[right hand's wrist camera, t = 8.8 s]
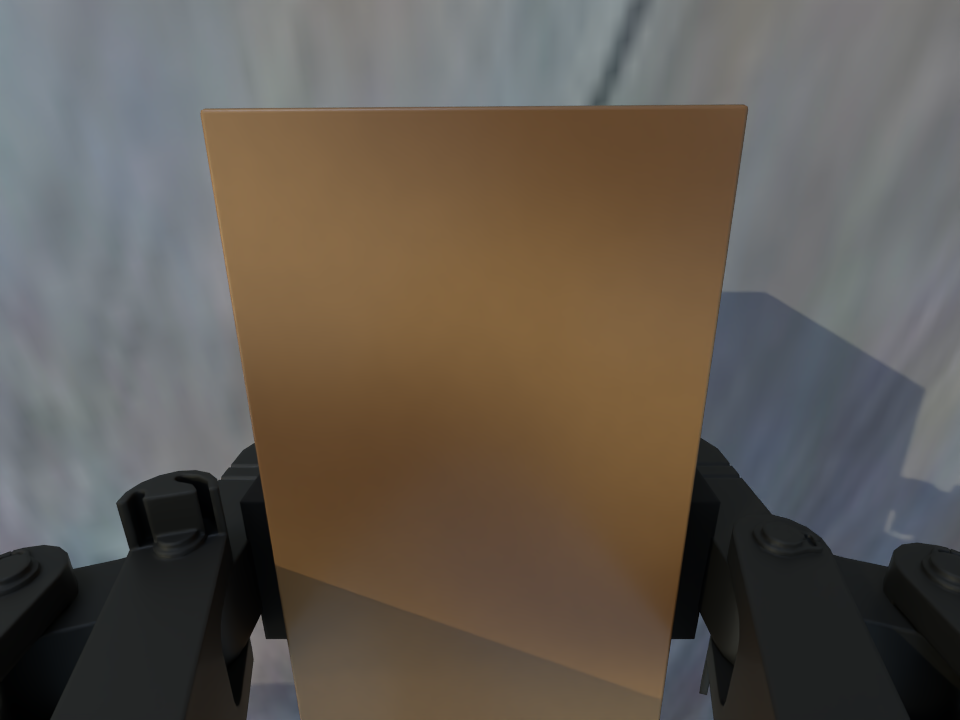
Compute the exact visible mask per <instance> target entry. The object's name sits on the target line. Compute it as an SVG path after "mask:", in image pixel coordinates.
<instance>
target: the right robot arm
mask: <svg viewBox="0 0 960 720" xmlns="http://www.w3.org/2000/svg"><path fill="white" fill-rule="evenodd" d="M116 504H117V508H118V511H119V515H120V518H121V521H122V525H123V528H124V532H125V535H126V539H127V542H128V545H129V549H130V551H129V553H128V555H127V557H126V558H122V559H119V560H114V561H109V562H105V563H100V564H95V565H90V566H85V567H81V568H76V569H73V568H72V565H71V562H70V559H69V556H68V553H67V552H65V551H64V550H63V549H61V548H60V547H57V546H48V545H41V546H34V547H27V548H21V549H17V550H13V552H11V551H10V552H7V553H4V554H2V555H0V720H246V718H247V710H248V702H249V693H250V685H251V677H252V668H253V660H254V659H253V652H252V646H251V641H250V636H251V634H252V632H253V629H254V627H255V625H256V623H257V621H258V619H259V617H260V615H261V616H262V621H263V626H264V631H265V637H266V639H287V635H286V629H285V623H284V616H283V610H282V604H281V598H280V592H279V586H278V580H277V574H276V568H275V562H274V556H273V550H272V544H271V538H270V532H269V526H268V519H267V513H266V507H265V501H264V495H263V489H262V483H261V477H260V471H259V465H258V459H257V453H256V447H255V443H254V444H252V445H251V446H249V447H247V448H246V449H244V450H243V451H242V452H241V453H240V455H239V456H238V457H237V458H236V460H235V461H234V462H233V463H232V464H231V468H228V469H227V471H226V472H225V473H224V474H223V475H222V477H221V480H218V481H217V479H216V478H215V477H214V476H212V475H211V474H210V473H207V472H202V471H197V470H191V471H177V472H172V473H168V474H164V475H159V476H157V477H154V478H152V479H149V480H147V481H144V482H142V483H140V484H138V485H137V486H135V487H134V488H132V489H130V490H129V491H127V492H126V493H125V494H124V495H123V496H122V497H121V498H120V499H119V500H118V502H117V503H116ZM699 612H700V614H701V616H702V618H703V620H704V622H705V624H706V626H707V628H708V630H709V632H710V634H711V636H710V641H709V646H708V651H707V656H706V660H705V665H704V670H703V675H702V680H701V686H700V694H704V695H707V692H708V687H709V684H710V692H711V700H712V709H713V717H714V720H960V552H958V551H955V550H952V549H951V550H950V549H948V548H946V547H942V546H937V545H930V544H923V543H911V544H902V545H901V546H899V547H898V548H897V549H895V550H894V552H893V555H892V558H891V561H890V563H889V566H888V567H886V566H881V565H877V564H872V563H867V562H862V561H857V560H853V559H848V558H843V557H839V556H836V555H833V554H832V552H831V550H830V548H829V547H828V546H827V545H826V543H825V542H824V541H823V539H822V538H821V537H819V536H818V535H817V534H815V533H814V532H813V531H811V530H810V529H809V528H807V527H805V526H803V525H801V524H799V523H797V522H794V521H792V520H790V519H787V518H783V517H779V516H775V515H772V514H771V513H770V512H769V510H768V509H767V508H766V507H765V506H764V504H763V503H762V502H761V501H760V500H759V498H758V497H757V496H756V495H755V493H754V492H753V491H752V490H751V489H750V487H749V486H748V485H747V484H746V482H745V481H744V480H743V479H742V478H739V474H738V473H737V472H736V470H735V469H734V468H733V467H732V466H730V465H729V462H728V461H727V459H726V458H725V457H724V456H723V454H722V453H721V452H720V451H719V450H718V448H716V447H714V446H713V445H711V444H710V443H708V442H706V441H705V440H703V439H702V438H700V444H699V451H698V458H697V465H696V472H695V478H694V485H693V492H692V499H691V506H690V513H689V520H688V527H687V534H686V540H685V547H684V554H683V561H682V568H681V575H680V582H679V589H678V596H677V602H676V609H675V616H674V623H673V630H672V637H671V639H694V638H695V633H696V628H697V623H698V618H699Z"/></svg>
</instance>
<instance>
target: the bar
mask: <svg viewBox="0 0 960 720" xmlns="http://www.w3.org/2000/svg"><path fill="white" fill-rule="evenodd" d="M747 113H748V107H747V106H745V105H621V106H490V107H360V108H229V109H203V110H201V120H202V126H203V132H204V138H205V144H206V150H207V156H208V162H209V168H210V174H211V180H212V186H213V192H214V198H215V204H216V210H217V216H218V223H219V229H220V235H221V241H222V247H223V253H224V259H225V265H226V271H227V277H228V283H229V289H230V295H231V301H232V307H233V313H234V320H235V326H236V332H237V338H238V344H239V350H240V356H241V362H242V368H243V374H244V380H245V386H246V392H247V398H248V404H249V410H250V416H251V423H252V429H253V435H254V441H255V447H256V453H257V459H258V465H259V471H260V477H261V483H262V489H263V495H264V501H265V507H266V513H267V519H268V526H269V532H270V538H271V544H272V550H273V556H274V562H275V568H276V574H277V580H278V586H279V592H280V598H281V604H282V610H283V616H284V623H285V629H286V635H287V641H288V647H289V653H290V659H291V665H292V671H293V677H294V683H295V689H296V695H297V701H298V707H299V713H300V719H301V720H660V713H661V706H662V699H663V692H664V685H665V678H666V671H667V664H668V658H669V651H670V644H671V637H672V630H673V623H674V616H675V609H676V602H677V596H678V589H679V582H680V575H681V568H682V561H683V554H684V547H685V540H686V534H687V527H688V520H689V513H690V506H691V499H692V492H693V485H694V478H695V472H696V465H697V458H698V451H699V444H700V437H701V430H702V423H703V416H704V410H705V403H706V396H707V389H708V382H709V375H710V368H711V361H712V354H713V348H714V341H715V334H716V327H717V320H718V313H719V306H720V299H721V292H722V286H723V279H724V272H725V265H726V258H727V251H728V244H729V237H730V230H731V224H732V217H733V210H734V203H735V196H736V189H737V182H738V175H739V168H740V162H741V155H742V148H743V141H744V134H745V127H746V120H747Z"/></svg>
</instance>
